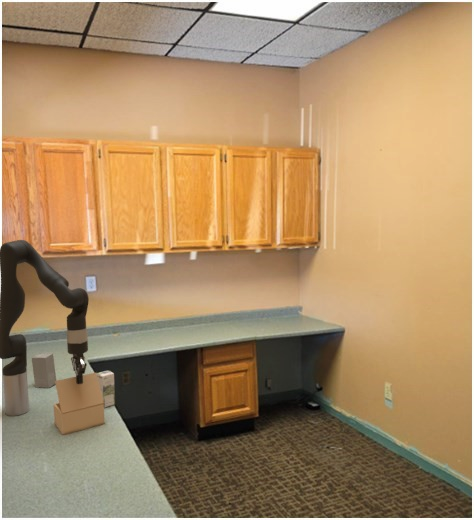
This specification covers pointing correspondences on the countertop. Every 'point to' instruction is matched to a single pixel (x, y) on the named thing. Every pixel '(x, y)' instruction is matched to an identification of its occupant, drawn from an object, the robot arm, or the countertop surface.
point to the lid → (78, 393)
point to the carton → (78, 418)
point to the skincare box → (44, 370)
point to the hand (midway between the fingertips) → (79, 383)
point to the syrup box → (107, 387)
